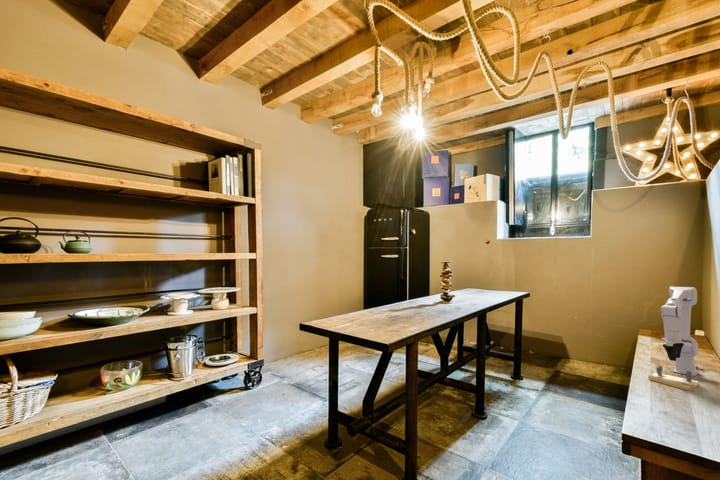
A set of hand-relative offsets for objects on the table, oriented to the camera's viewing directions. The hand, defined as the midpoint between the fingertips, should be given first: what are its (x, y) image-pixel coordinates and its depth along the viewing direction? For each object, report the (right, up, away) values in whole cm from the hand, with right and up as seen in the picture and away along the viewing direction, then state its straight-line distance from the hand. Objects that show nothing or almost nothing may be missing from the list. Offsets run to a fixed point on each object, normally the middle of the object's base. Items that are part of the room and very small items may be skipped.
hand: (674, 359), depth 153 cm
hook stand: (-3, -9, -3) cm, 10 cm away
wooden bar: (-10, -9, -8) cm, 15 cm away
